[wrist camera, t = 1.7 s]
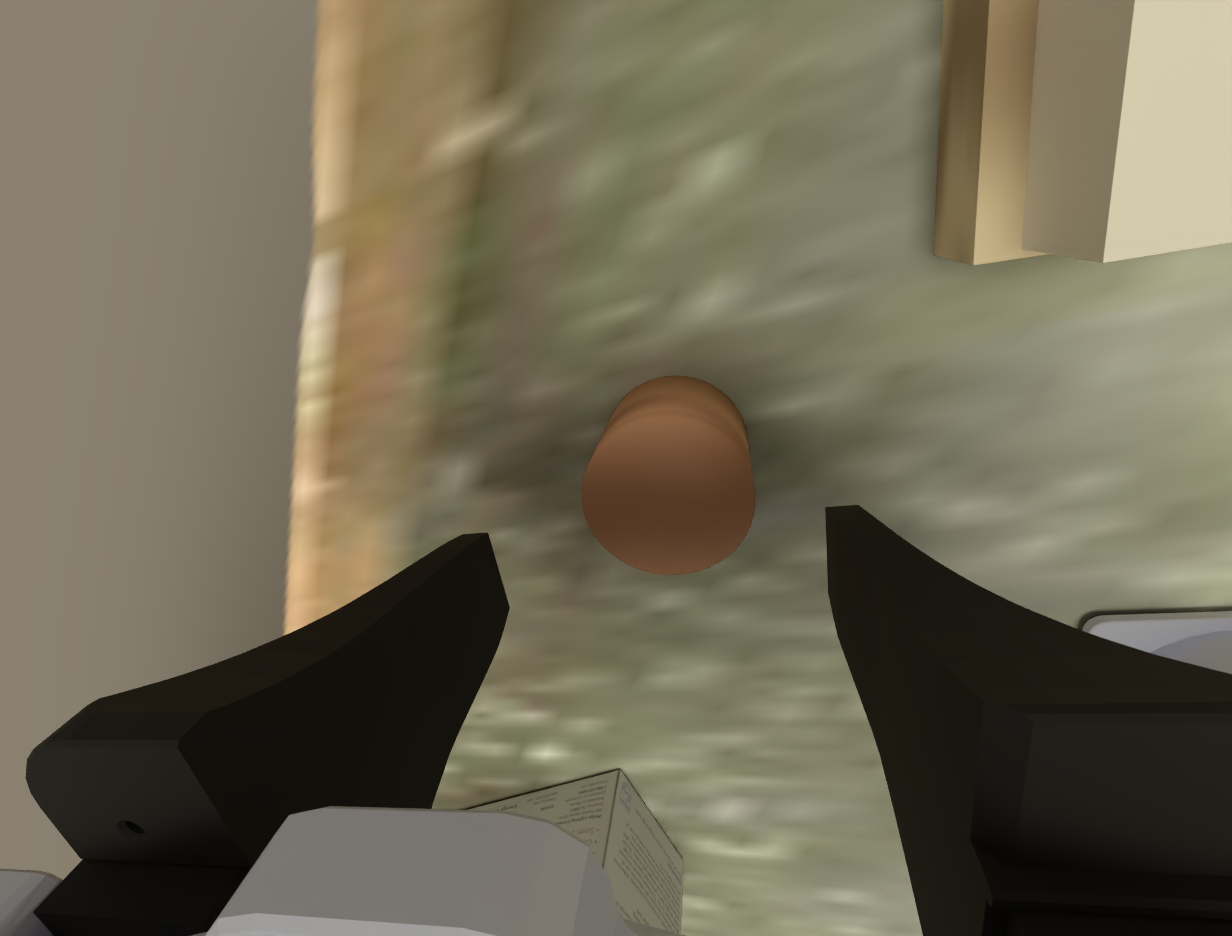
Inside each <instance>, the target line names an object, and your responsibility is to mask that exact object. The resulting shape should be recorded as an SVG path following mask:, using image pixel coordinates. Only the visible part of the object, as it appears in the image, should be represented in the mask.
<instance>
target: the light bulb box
mask: <svg viewBox="0 0 1232 936" xmlns="http://www.w3.org/2000/svg"><path fill="white" fill-rule="evenodd" d="M468 810H489V811H509V812H514V813H519V814H524V815H529V816H533V817H538V818H543V819H548V820H550V821H552V822H553V823H555V824H557V825H558V826H560V827H562V828H563V829H565V830H567V831H568V832H570V833H571V834H573V835H575V836H576V837H578V838H580V839H581V840H583V841H584V842H585V843H586V844H587V846H588V847H589V848H590V850H591V851H592V853H593V854H594V856H595V857H596V859H597V860H598V862H599V863H600V865H601V866H602V868H603V869H604V871H605V872H606V874H607V875H608V877H609V879H610V883H611V887H612V891H613V894H614V898H615V902H616V905H617V909H618V912H619V914H620V916H621V918H622V919H626V920H630V921H634V922H638V923H641V924H645V925H648V926H652V927H656V928H659V929H663V930H667V931H670V932H674V933H677V934H681V917H682V892H683V860H682V858H681V856H680V855H679V853H678V852H677V850H676V849H675V848H674V846H673V845H672V843H671V842H670V840H669V839H668V837H667V836H666V835H665V833H664V832H663V830H662V829H661V827H660V826H659V824H658V823H657V822H656V820H655V819H654V817H653V816H652V814H651V813H650V811H649V810H648V809H647V807H646V806H645V804H644V803H643V801H642V800H641V798H640V797H639V796H638V794H637V793H636V791H635V790H634V788H633V787H632V785H631V784H630V783H629V781H628V780H627V778H626V777H625V775H624V774H623V772H622V771H621V770H620V769H618V770H616V771H613V772H610V773H606V774H602V775H598V776H595V777H591V778H587V779H583V780H579V781H575V782H572V783H568V784H564V785H560V786H556V787H553V788H549V789H545V790H541V791H537V792H533V793H529V794H526V795H522V796H518V797H514V798H510V799H506V800H503V801H499V802H495V803H491V804H487V805H483V806H480V807H476V808H472V809H468Z"/></svg>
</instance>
